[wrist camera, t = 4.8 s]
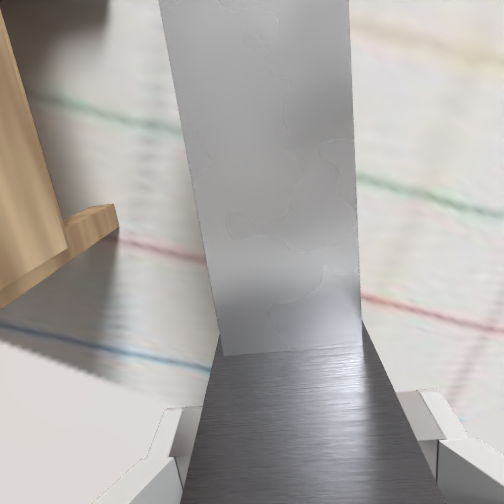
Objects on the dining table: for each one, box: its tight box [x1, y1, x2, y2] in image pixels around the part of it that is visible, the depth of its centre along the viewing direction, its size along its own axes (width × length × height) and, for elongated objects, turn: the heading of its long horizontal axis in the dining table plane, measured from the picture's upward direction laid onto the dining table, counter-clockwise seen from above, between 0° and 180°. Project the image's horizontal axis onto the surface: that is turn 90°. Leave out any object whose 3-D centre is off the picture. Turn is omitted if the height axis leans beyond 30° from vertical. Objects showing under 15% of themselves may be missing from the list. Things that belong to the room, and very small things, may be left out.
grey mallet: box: [159, 0, 446, 504], centre depth 7 cm, size 17×4×6 cm, turn 8°
